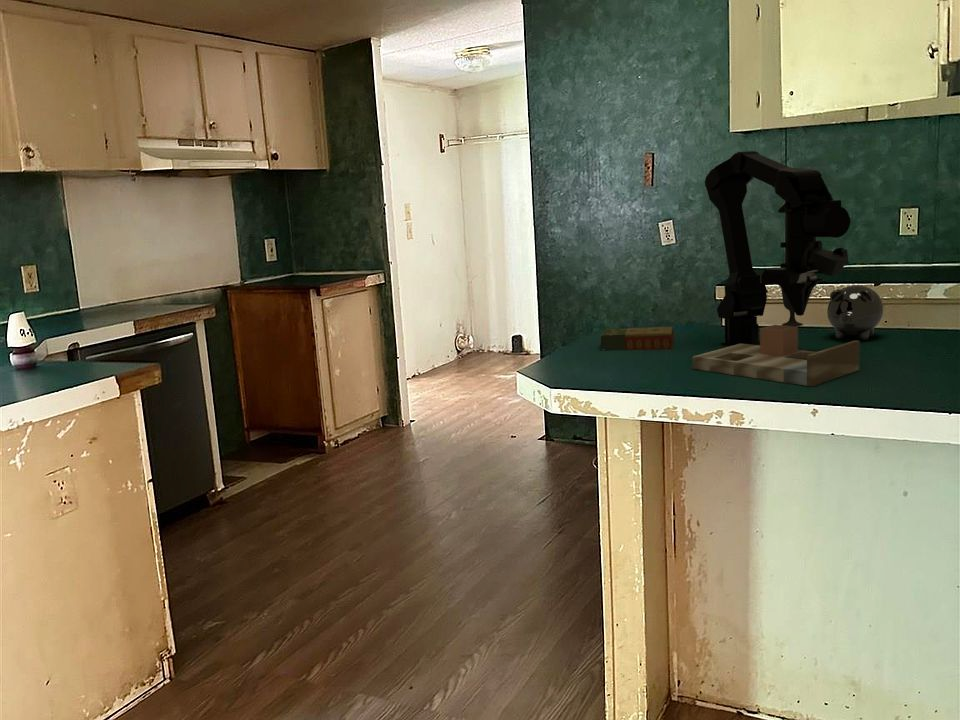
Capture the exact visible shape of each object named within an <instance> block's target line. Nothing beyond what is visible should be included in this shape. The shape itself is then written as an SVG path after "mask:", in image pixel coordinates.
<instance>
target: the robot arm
mask: <svg viewBox="0 0 960 720" xmlns="http://www.w3.org/2000/svg"><path fill="white" fill-rule="evenodd" d="M822 176H823V175H822V173H821V172H820V171H819V170H817V169H812V168H805V167H803V168H800V167H799V168H798V167H790V166H787V165H785V164H783V163H780V162H778V161H775V160H774V159H771V158H769V157H766V156H764V155H762V154H760V153H759V152H758V151H755V150H748V151H747V150H745V151H738V152H736V153H734V154H733V155H732V156H731V157H730V158H728V159H727V160H725V161H723V162H721V163H719V164H718V165H716V166H714V167H713V168H712V169H710V171H709V172H708V173H707V175H706V176H705V178H704V179H705V180H704V184H705V188H706V192H707V195H708V199H709V201H710V202H711V203H712V205H714V206H715V207H716V209H717V210H718V213H719V219H720V226H721V231H722V237H723V243H724V248H725V255H726V259H727V267H728V272H729V274H728V278H727V279H726V282H725V284H724V297H723V298H722V299H721V301H720V303H719V304H718V306H717V308H716V311H717V315H718V316H717V317H718V318H719V319H724V341H721V342H720V345H722V346H723V345H724V346H729V347H730V346H733V345H737V344H750V345H759V344H760V328H759V323H758V317H762V316H764V314H765V313H764V312H765V308H766V304H767V301H768V292H769V291H768V289H767V286H766V285H777V286H779V285H781V287H782V289H783V290H784V292H785V294H786V295H787V297H788V299H789V301H790V303H791V305H792V307H793V309H794V311H795V316H801V317H802V316H803V315H804V314H805V312H806V309H807V305H808V303H809V300H810V297H811V294H812V292H813V289H814V288H815V287H816V286H817V285H818V284H820V283H821V282H823V281H824V279H823V278H817V277H818V275H817V274H823V275H825V276H827V277H828V276H829V277H833V276H835V275H842V273H843V269H844V267H845V266H848V265H849V264H850V263H849V255H848V249H846V248H843V247H836V248H835V249H834V250H831V249H829V250H827V249H824V248H823V242H822V240H819V239H818V240H817V238H834V239H835V238H836V239H839V238H841V237H843V236H844V235H845V234H846V233H847V232H848V230H849V229H850V227H851V226H850V225H851V217H850V214H849V212H848V210H847V209H846V208H844V207H843V206H842V200H841V199H835V200H834V198H833V195H832V194H831V192H830V191H829V189H828V186H827V185H826V182H825V181H824V179H823V177H822ZM753 179H757V180H759V181H761V182H762V183H766V184H767V185H769V186H771V187H773V188H774V193H775V194H776V195H777V196H778V197H780V199H782V200H783V201H784V204H783V205H781V207H779V209H778V210H777V211H778V213H779V214H784V221H785V222H784V236H785V237H784V241H781V242H780V248H781V249H782V248H784V262H780V266H779V267H777V266H774V267H769V268H764V269H763V270H762V271H761V273H760V274H758V273H757V272H756V271H755V270H754V266H753V261H752V257H751V255H752V254H751V249H750V244H749V240H748V239H749V238H748V234H747V226H746V222H745V221H746V220H745V215H744V210H743V203H744V200H745V198H746V195H747V193H748V184H749V183H750V182H751V181H753ZM781 287H780V288H781Z"/></svg>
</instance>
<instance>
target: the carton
mask: <svg viewBox="0 0 960 720" xmlns="http://www.w3.org/2000/svg"><path fill="white" fill-rule="evenodd" d="M674 330H675V329H674V326H655V327H654V326H653V327H652V326H649V327H626V328H620V327H619V328H605V329H604V331H603V332H602V333H601V334H600V348H601V349H605V350H604V351H644V350H646V351H652V350H653V351H654V350H657V351H658V350H660V351H661V350H673V348H674V345H675V332H674ZM601 349H600V350H601Z"/></svg>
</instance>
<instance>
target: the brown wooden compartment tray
mask: <svg viewBox="0 0 960 720" xmlns="http://www.w3.org/2000/svg"><path fill="white" fill-rule="evenodd" d="M860 345H861V341H860V340H856V339H855V340H851V341H849V342H846V343H844V342H843V343H841V344H839V345H836V346H835V345H834V346H832V347H829V348H826V349H822V350H820V351H811V350H801V349H798V352H796V353H793V354H790V355H786V356H775V355H767V354H760V344H754V345H750V344H737V345H733V346H730V345H729V346H727V347H723V348H718V349H715V350H712V351H708V352H704V353H701V354H700V353H699V354H698V355H692V370H697V369H698V370H697V371H704V372H712V373H718V374H724V375H732V376H738V377H746V378H753V379H758V380H759V379H760V380H767V381H772V382H778V383H779V382H780V383H784V384H785V383H786V384H793V385H798V386H799V385H800V386H807V387H815V386H817V385H820V384H823V382H824V383H827V382H830V381H832V380H835V379H837V378H840V377H844V376H847V375H849V374H852V373H855V372H857V371H860V351H861V350H860V347H861V346H860Z"/></svg>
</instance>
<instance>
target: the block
mask: <svg viewBox="0 0 960 720" xmlns="http://www.w3.org/2000/svg"><path fill="white" fill-rule="evenodd" d="M759 340H760V343H759V346H760V354H767V355H775V356H786V355H790V354H793V353H796V352H798V350H799V348H798V347H799V342H798V341H799V326H796V327H795V326H784V325H782V324H772V325H769V326H765V327H761V328H759Z"/></svg>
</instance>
